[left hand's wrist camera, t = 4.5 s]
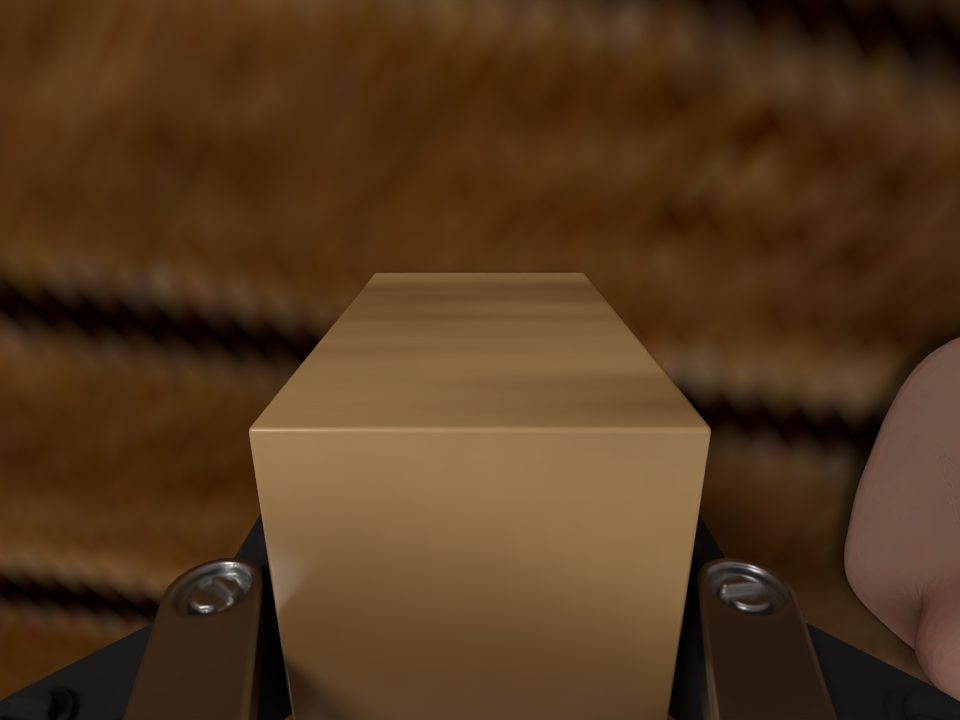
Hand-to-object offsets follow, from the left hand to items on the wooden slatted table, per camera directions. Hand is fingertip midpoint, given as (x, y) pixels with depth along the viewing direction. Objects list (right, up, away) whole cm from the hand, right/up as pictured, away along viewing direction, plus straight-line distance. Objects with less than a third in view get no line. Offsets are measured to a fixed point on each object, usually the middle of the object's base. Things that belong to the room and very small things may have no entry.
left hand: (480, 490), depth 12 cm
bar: (0, -28, +13) cm, 31 cm away
